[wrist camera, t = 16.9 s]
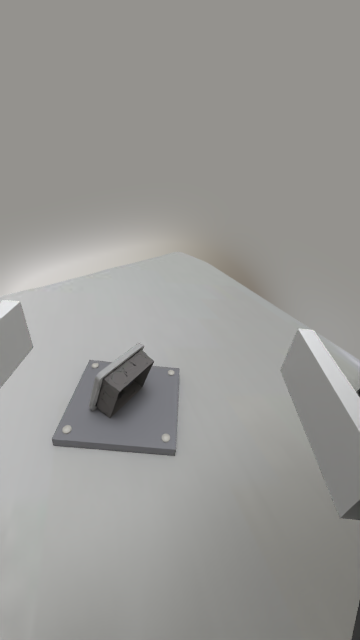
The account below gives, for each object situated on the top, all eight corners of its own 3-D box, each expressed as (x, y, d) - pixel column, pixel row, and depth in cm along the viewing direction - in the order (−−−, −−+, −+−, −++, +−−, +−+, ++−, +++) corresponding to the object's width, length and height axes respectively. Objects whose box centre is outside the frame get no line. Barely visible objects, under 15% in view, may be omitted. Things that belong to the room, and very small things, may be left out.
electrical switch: (128, 374, 47) (132, 335, 41) (151, 390, 45) (158, 351, 39) (87, 410, 40) (85, 368, 34) (112, 430, 38) (114, 389, 32)
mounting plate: (178, 374, 50) (179, 367, 49) (174, 455, 37) (175, 448, 36) (90, 365, 49) (89, 358, 48) (53, 445, 36) (51, 437, 35)
